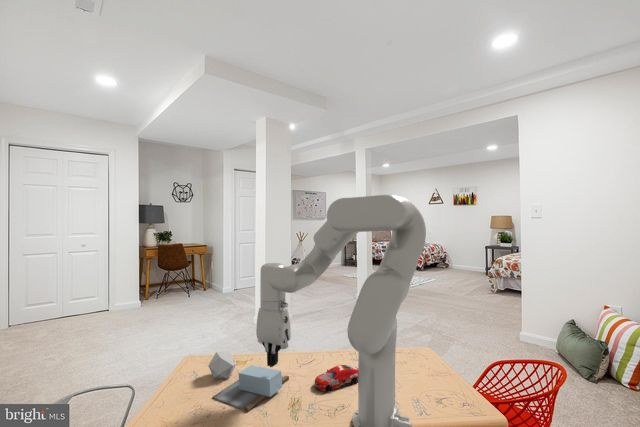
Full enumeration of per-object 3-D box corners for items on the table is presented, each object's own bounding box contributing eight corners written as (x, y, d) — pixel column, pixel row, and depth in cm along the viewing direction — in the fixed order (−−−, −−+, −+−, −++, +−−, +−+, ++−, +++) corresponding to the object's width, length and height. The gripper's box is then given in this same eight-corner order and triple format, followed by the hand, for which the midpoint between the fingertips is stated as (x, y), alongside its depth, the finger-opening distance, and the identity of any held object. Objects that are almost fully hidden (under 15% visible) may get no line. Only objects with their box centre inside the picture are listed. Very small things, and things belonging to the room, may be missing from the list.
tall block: (281, 370, 100) (251, 365, 106) (269, 379, 95) (238, 373, 100) (282, 387, 100) (252, 380, 105) (270, 396, 94) (239, 389, 100)
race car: (320, 395, 98) (320, 379, 98) (310, 385, 104) (310, 370, 104) (364, 382, 105) (364, 367, 105) (352, 373, 111) (352, 359, 111)
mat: (288, 379, 107) (288, 376, 107) (248, 412, 89) (248, 408, 89) (256, 369, 114) (256, 366, 114) (212, 398, 96) (212, 394, 96)
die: (220, 387, 103) (238, 359, 106) (199, 372, 104) (217, 345, 107) (227, 384, 111) (243, 358, 114) (207, 369, 112) (224, 344, 115)
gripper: (300, 304, 97) (299, 365, 97) (261, 298, 105) (261, 354, 105) (286, 311, 91) (285, 376, 91) (245, 304, 98) (245, 364, 98)
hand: (272, 364), depth 98 cm, fingers closed
